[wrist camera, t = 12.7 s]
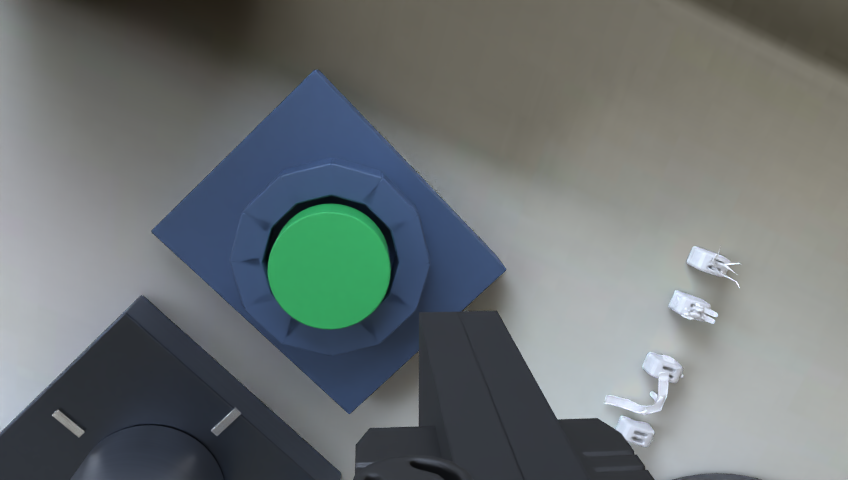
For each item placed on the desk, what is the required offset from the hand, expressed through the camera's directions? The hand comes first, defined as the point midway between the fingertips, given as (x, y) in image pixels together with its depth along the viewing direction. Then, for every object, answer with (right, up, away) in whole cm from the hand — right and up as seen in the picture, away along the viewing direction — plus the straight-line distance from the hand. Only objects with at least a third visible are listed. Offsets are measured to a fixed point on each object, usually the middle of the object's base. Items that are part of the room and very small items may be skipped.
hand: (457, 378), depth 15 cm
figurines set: (+10, -3, +20) cm, 23 cm away
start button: (-4, +2, +14) cm, 15 cm away
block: (-4, +3, +18) cm, 19 cm away
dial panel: (-12, -7, +20) cm, 24 cm away
